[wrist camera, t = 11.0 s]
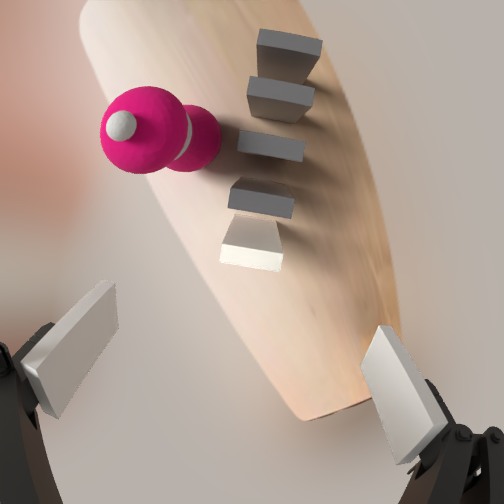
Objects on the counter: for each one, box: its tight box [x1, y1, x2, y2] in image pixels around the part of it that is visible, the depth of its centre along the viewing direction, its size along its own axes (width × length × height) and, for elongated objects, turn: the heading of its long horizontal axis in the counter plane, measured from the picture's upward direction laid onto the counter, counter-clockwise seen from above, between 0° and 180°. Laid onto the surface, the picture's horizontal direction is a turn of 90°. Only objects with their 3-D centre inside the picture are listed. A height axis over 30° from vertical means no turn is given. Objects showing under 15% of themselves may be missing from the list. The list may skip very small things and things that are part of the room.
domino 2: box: [247, 76, 315, 124], centre depth 24 cm, size 2×5×12 cm, turn 80°
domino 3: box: [237, 130, 306, 162], centre depth 26 cm, size 2×5×12 cm, turn 80°
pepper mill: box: [100, 86, 222, 174], centre depth 22 cm, size 7×7×20 cm
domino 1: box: [257, 29, 322, 85], centre depth 23 cm, size 2×5×12 cm, turn 81°
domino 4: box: [228, 177, 295, 219], centre depth 27 cm, size 2×5×12 cm, turn 80°
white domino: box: [220, 214, 283, 272], centre depth 29 cm, size 2×5×12 cm, turn 80°
